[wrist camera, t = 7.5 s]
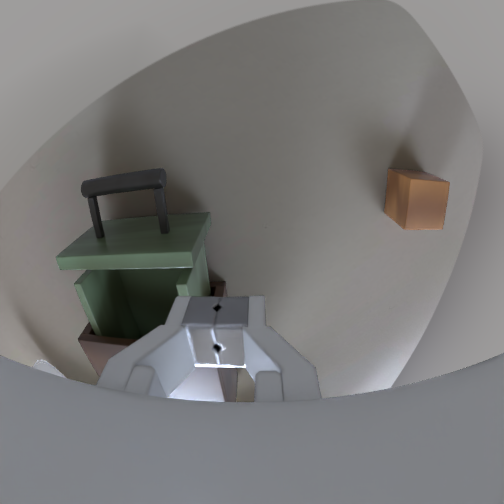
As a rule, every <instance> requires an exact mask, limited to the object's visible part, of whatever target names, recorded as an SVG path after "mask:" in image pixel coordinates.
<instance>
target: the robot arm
mask: <svg viewBox="0 0 504 504" xmlns="http://www.w3.org/2000/svg"><path fill="white" fill-rule="evenodd" d="M195 366H200V367H239V368H246V370H247V371H248V373H249V374H250V376H251V377H252V378H253V380H254V381H255V396H254V402H214V401H198V400H185V399H175V398H167V397H168V396H169V395H170V394H171V393H172V392H173V391H174V390H175V389H176V388H177V387H178V386H179V385H180V383H181V382H182V381H183V380H184V379H185V378H186V377H187V376H188V375H189V374H190V373H191V372H192V371H193V370H194V369H195ZM0 504H504V353H503V354H500V355H498V356H495V357H493V358H491V359H488V360H485V361H483V362H480V363H478V364H475V365H472V366H469V367H466V368H463V369H460V370H457V371H455V372H451V373H448V374H445V375H441V376H438V377H434V378H431V379H427V380H424V381H420V382H416V383H412V384H407V385H403V386H399V387H394V388H389V389H384V390H379V391H373V392H368V393H362V394H355V395H348V396H341V397H333V398H324V399H322V397H321V392H320V387H319V381H318V376H317V371H316V367H315V366H314V365H312V364H311V363H310V362H309V361H308V360H307V359H306V358H305V357H303V356H302V355H301V354H300V353H299V352H298V351H297V350H296V349H295V348H293V347H292V346H291V345H290V344H289V343H288V342H287V341H286V340H285V339H284V338H283V337H281V336H280V335H279V334H278V333H277V332H276V331H275V330H274V329H273V328H272V327H270V326H266V311H265V296H264V295H261V296H247V297H207V296H192V297H191V296H177V297H176V298H175V301H174V303H173V305H172V308H171V310H170V313H169V315H168V318H167V320H166V323H165V325H160V326H158V327H157V328H155V329H154V330H152V331H151V332H149V333H148V334H146V335H145V336H143V337H142V338H140V339H139V340H137V341H136V342H134V343H133V344H131V345H130V346H128V347H127V348H125V349H124V350H122V351H121V352H119V353H118V354H116V355H115V356H113V357H111V358H110V359H109V360H108V362H107V364H106V366H105V368H104V370H103V372H102V374H101V376H100V378H99V380H98V382H97V384H96V385H91V384H87V383H83V382H79V381H75V380H71V379H68V378H64V377H61V376H57V375H54V374H51V373H48V372H44V371H41V370H38V369H35V368H32V367H30V366H27V365H24V364H21V363H19V362H16V361H13V360H11V359H8V358H6V357H4V356H1V355H0Z"/></svg>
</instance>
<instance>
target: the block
mask: <svg viewBox="0 0 504 504" xmlns="http://www.w3.org/2000/svg"><path fill="white" fill-rule="evenodd" d="M449 185H450V182H448V181H446V180H443V179H441V178H439V177H436V176H434V175H431V174H429V173H427V172H423V171H413V170H402V169H388V176H387V189H386V200H385V210H384V213H385V214H386V215H387V216H389V217H390V218H391V219H392V220H393V221H395V222H396V223H397V224H398V225H399V226H401V227H402V228H403V229H404V230H442V229H443V224H444V218H445V213H446V207H447V200H448V193H449Z"/></svg>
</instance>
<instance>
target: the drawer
mask: <svg viewBox="0 0 504 504" xmlns="http://www.w3.org/2000/svg"><path fill="white" fill-rule="evenodd" d="M165 185H166V172H165V170H164V169H163V168H159V169H151V170H144V171H137V172H130V173H124V174H118V175H112V176H107V177H101V178H96V179H91V180H86V181H84V182H83V183H82V185H81V192H82V195H83V196H84V197H85V198H88V197H89V198H88V203H89V208H90V213H91V217H92V221H93V227H91V228H90V229H89V230H88V231H86V232H85V233H84V234H83V235H81V236H80V237H79V238H78V239H76V240H75V241H74V242H73V243H72V244H70V245H69V246H68V247H67V248H66V249H64V250H63V251H62V252H61V253H60V254H59V255H57V256H56V260H57V263H58V266H59V269H60V270H86V271H85V272H84V273H83V274H82V275H81V277H80V278H79V279H78V280H77V281H76V282H75V283H74V286H75V288H76V291H77V294H78V296H79V299H80V301H81V303H82V306H83V308H84V311H85V313H86V315H87V317H88V320H89V322H90V324H91V326H92V328H93V331H94V333H95V335H97V336H106V337H116V338H127V339H140V338H142V337H143V336H145V335H146V334H148V333H149V332H151V331H152V330H154V329H155V328H157V327H158V326H160V325H165V323H166V320H167V318H168V315H169V313H170V310H171V308H172V305H173V303H174V301H175V298H176V297H177V296H191V297H192V296H207V297H212V295H211V289H210V282H209V275H208V268H207V261H206V254H205V246H204V240H205V238H206V235H207V233H208V231H209V228H210V226H211V217H210V212H203V213H188V214H174V215H167V209H166V202H165V195H164V188H163V187H165ZM153 188H155V189H154V195H155V202H156V208H157V214H158V216H149V217H137V218H126V219H116V220H106V221H101V216H100V212H99V207H98V202H97V197H96V196H101V195H107V194H114V193H121V192H129V191H137V190H145V189H153Z"/></svg>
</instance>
